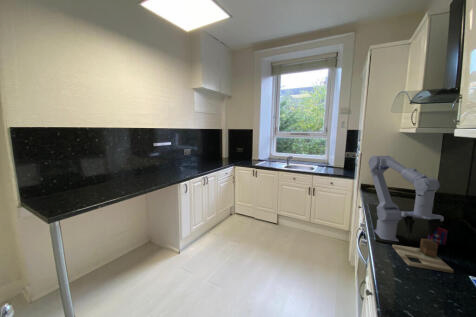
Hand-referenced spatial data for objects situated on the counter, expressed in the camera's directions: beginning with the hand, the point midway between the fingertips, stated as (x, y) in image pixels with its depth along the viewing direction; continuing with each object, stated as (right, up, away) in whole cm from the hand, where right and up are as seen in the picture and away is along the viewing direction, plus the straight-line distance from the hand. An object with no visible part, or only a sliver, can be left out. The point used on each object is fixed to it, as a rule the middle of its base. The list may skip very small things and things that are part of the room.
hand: (419, 233), depth 88 cm
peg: (+4, -9, 0) cm, 10 cm away
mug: (+22, -9, +14) cm, 28 cm away
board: (-1, -11, -1) cm, 11 cm away
